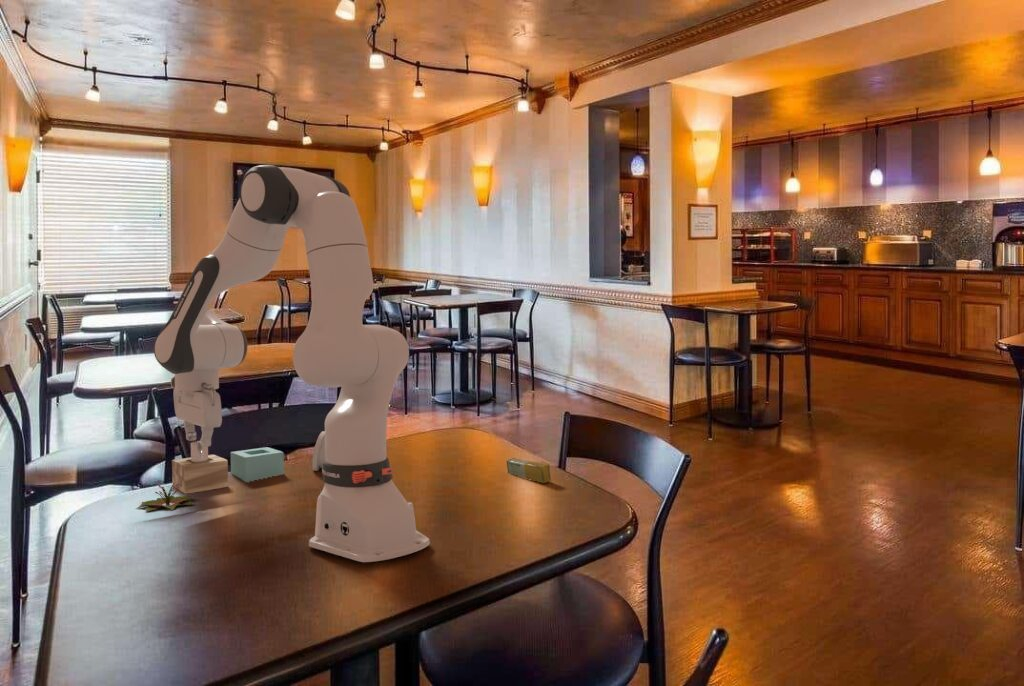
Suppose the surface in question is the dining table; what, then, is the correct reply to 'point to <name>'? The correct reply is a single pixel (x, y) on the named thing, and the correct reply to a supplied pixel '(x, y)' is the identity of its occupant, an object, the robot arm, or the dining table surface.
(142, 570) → the dining table surface
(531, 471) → the medication box
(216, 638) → the dining table surface
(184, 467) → the block
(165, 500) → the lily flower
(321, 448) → the mechanical component
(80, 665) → the dining table surface
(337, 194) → the robot arm
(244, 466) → the teal socket
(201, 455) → the lock pin
